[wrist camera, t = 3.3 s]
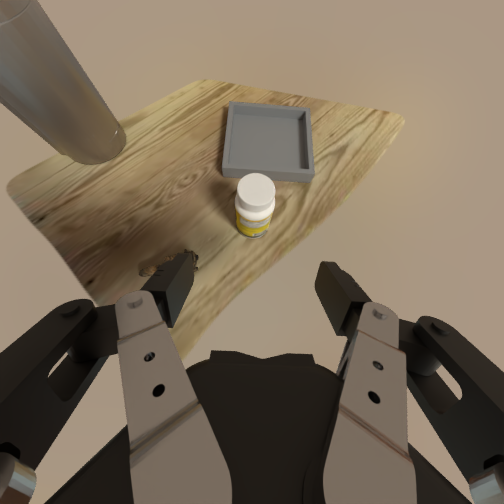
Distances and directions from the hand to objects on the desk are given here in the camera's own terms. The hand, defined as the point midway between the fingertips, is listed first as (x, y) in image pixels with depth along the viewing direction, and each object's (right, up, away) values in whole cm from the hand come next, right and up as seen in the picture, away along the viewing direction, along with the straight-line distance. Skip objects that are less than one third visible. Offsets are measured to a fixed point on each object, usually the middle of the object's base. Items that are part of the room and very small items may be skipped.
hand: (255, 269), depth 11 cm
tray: (+3, +19, +20) cm, 28 cm away
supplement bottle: (0, +5, +15) cm, 16 cm away
